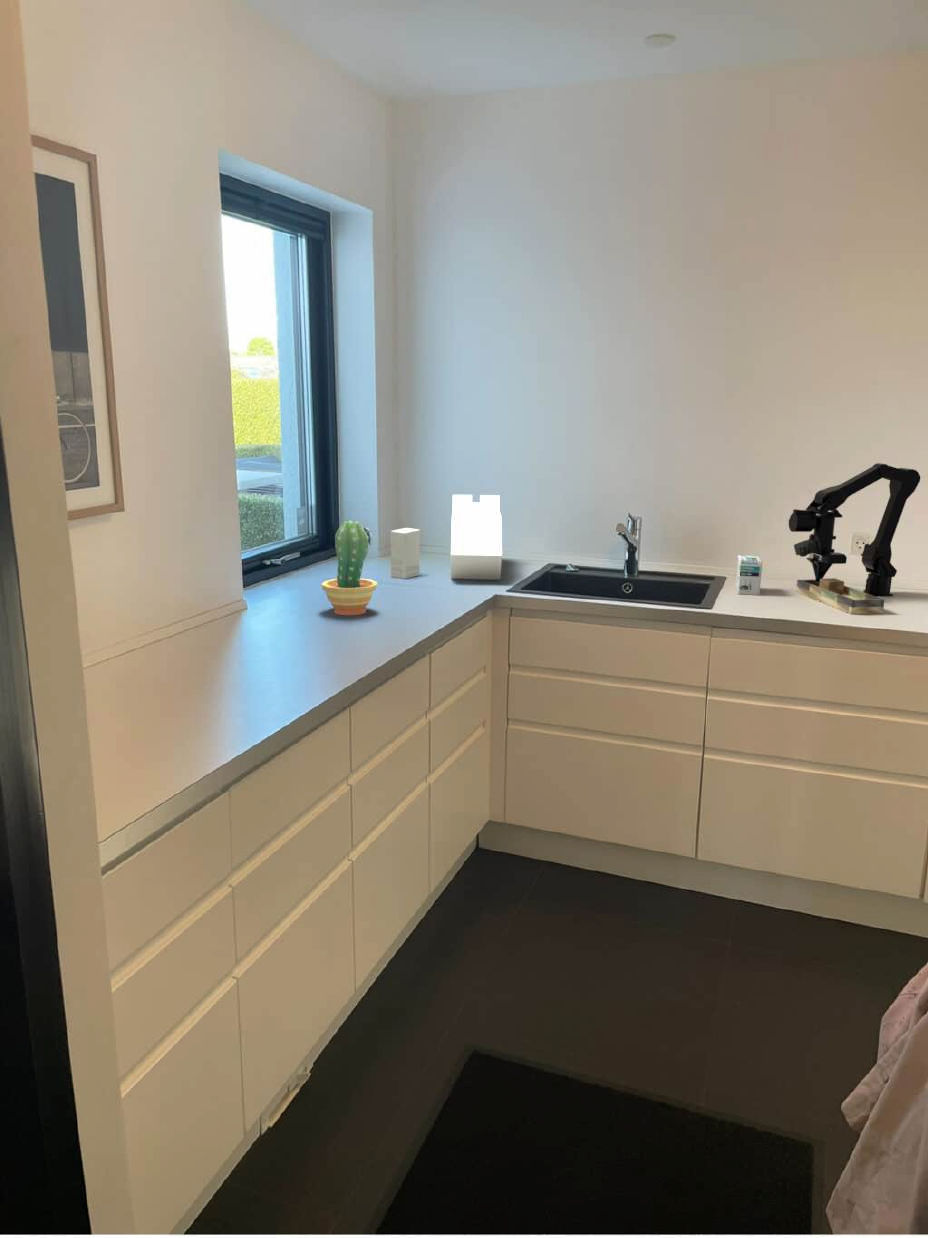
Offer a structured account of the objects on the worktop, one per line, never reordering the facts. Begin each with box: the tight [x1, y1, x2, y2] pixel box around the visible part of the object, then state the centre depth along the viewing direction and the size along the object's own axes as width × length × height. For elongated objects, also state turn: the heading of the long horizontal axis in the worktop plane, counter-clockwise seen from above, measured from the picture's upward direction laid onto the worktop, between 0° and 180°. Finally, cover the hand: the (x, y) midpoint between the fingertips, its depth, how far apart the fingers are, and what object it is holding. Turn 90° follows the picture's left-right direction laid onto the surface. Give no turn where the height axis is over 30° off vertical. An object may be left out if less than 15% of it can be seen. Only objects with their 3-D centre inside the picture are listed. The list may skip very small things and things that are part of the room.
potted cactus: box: [321, 520, 378, 616], centre depth 252 cm, size 15×15×25 cm
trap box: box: [795, 579, 886, 615], centre depth 276 cm, size 10×30×4 cm, turn 10°
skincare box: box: [390, 527, 421, 580], centre depth 304 cm, size 8×7×16 cm
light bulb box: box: [735, 554, 763, 596], centre depth 289 cm, size 11×7×11 cm, turn 169°
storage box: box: [450, 494, 503, 581], centre depth 312 cm, size 26×16×35 cm
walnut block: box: [819, 577, 845, 595], centre depth 279 cm, size 5×5×4 cm
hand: (818, 581), depth 286 cm, fingers closed
